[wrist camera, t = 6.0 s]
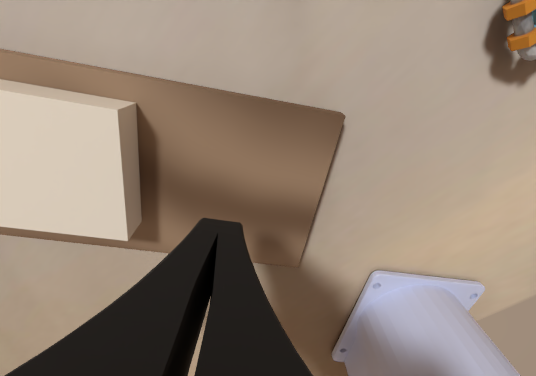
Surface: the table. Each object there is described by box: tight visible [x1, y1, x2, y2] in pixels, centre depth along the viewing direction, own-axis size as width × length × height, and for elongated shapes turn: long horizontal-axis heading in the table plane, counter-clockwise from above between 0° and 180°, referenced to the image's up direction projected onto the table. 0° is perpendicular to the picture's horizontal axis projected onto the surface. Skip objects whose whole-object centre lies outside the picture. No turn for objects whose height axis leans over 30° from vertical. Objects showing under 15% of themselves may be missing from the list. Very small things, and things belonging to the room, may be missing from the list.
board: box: [0, 49, 345, 267], centre depth 12 cm, size 9×20×1 cm, turn 79°
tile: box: [0, 79, 142, 241], centre depth 11 cm, size 6×2×6 cm
